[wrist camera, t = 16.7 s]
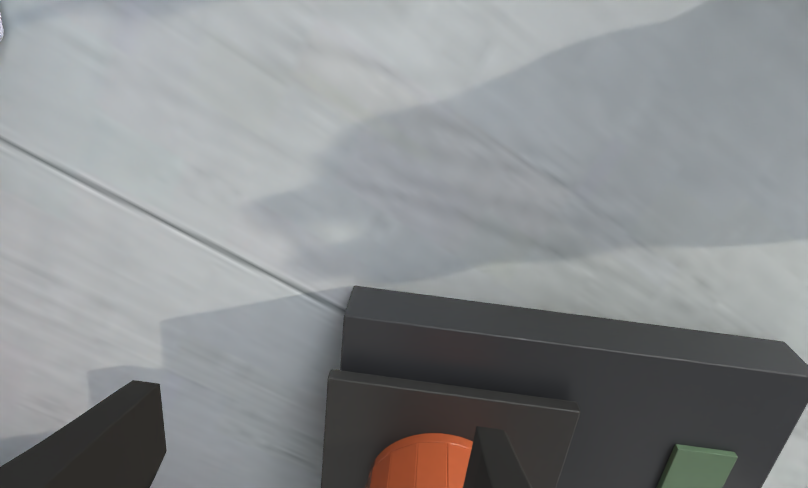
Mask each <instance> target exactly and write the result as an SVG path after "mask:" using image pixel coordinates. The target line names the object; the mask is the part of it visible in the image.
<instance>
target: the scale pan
mask: <svg viewBox="0 0 808 488" xmlns="http://www.w3.org/2000/svg"><path fill="white" fill-rule="evenodd" d="M579 415H580V409H579V406H578V403H577V402H573V401H566V400H558V399H551V398H543V397H536V396H528V395H521V394H513V393H505V392H498V391H490V390H483V389H475V388H468V387H460V386H453V385H445V384H438V383H430V382H423V381H415V380H408V379H400V378H393V377H385V376H378V375H370V374H363V373H355V372H348V371H340V370H333V369H332V370H331V371H330V373H329V377H328V384H327V400H326V416H325V432H324V448H323V464H322V480H321V488H365V487H366V484H367V481H368V475H369V471H370V468H371V466H372V464H373V462H374V460H375V459H376V457H377V456H378V455H379V454H380V453H381V452H382V451H383V450H384V449H385V448H386V447H388V446H389V445H391V444H392V443H394V442H396V441H398V440H400V439H403V438H405V437H409V436H412V435H417V434H423V433H444V434H451V435H455V436H460V437H463V438H466V439H468V440H471V441H473V440H474V435H475V431H476V426H480V427H487V428H495V429H502V430H504V431H505V432H506V433H507V435H508V437H509V439H510V442H511V444H512V446H513V448H514V451H515V453H516V455H517V457H518V459H519V461H520V464H521V466H522V468H523V470H524V472H525V474H526V476H527V478H528V480H529V482H530V484H531V486H532V488H556V487H557V483H558V480H559V477H560V474H561V471H562V468H563V465H564V462H565V459H566V456H567V452H568V449H569V446H570V443H571V440H572V437H573V434H574V431H575V428H576V425H577V421H578V418H579Z"/></svg>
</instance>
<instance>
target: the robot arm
mask: <svg viewBox="0 0 808 488" xmlns="http://www.w3.org/2000/svg"><path fill="white" fill-rule="evenodd" d="M3 36H4V30H3V25H2V19H1V14H0V41H1V40H2V38H3ZM165 453H166V441H165V431H164V422H163V412H162V402H161V393H160V384H157V383H149V382H142V381H134V380H133V381H131V382H130V383H128V384H127V385H125V386H124V387H122V388H121V389H119V390H118V391H116V392H115V393H113V394H112V395H110V396H109V397H107V398H106V399H104V400H103V401H101V402H100V403H98V404H97V405H96V406H94V407H93V408H91V409H90V410H88V411H87V412H85V413H84V414H82V415H81V416H79V417H78V418H76V419H75V420H73V421H72V422H70V423H69V424H67V425H66V426H64V427H63V428H61V429H60V430H58V431H57V432H55V433H54V434H52V435H51V436H49V437H48V438H46V439H45V440H43V441H42V442H40V443H39V444H37V445H35V446H34V447H32V448H31V449H29V450H27V451H26V452H24V453H22V454H21V455H19V456H18V457H16V458H14V459H13V460H11V461H9V462H8V463H6V464H4V465H3V466H1V467H0V488H150V486H151V484H152V482H153V480H154V478H155V476H156V473H157V471H158V469H159V467H160V464H161V462H162V460H163V458H164V456H165ZM463 488H532V486H531V484H530V482H529V480H528V478H527V476H526V474H525V472H524V470H523V468H522V466H521V464H520V461H519V459H518V457H517V455H516V453H515V451H514V448H513V446H512V444H511V442H510V439H509V437H508V435H507V433H506V432H505V431H504V430H502V429H495V428H487V427H480V426H476V431H475V435H474V440H473V444H472V449H471V453H470V458H469V462H468V467H467V471H466V476H465V480H464V484H463Z"/></svg>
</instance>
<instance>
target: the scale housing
mask: <svg viewBox="0 0 808 488" xmlns="http://www.w3.org/2000/svg"><path fill="white" fill-rule="evenodd" d="M340 371H348V372H355V373H363V374H370V375H378V376H385V377H393V378H400V379H408V380H415V381H423V382H430V383H438V384H445V385H453V386H460V387H468V388H475V389H483V390H490V391H498V392H505V393H513V394H521V395H528V396H536V397H543V398H551V399H558V400H566V401H573V402H577V403H578V406H579V409H580V415H579V418H578V421H577V425H576V428H575V431H574V434H573V437H572V440H571V443H570V446H569V449H568V452H567V456H566V459H565V462H564V465H563V468H562V471H561V474H560V477H559V480H558V483H557V487H556V488H761V487H762V485H763V484H764V482H765V480H766V478H767V476H768V474H769V473H770V471H771V469H772V467H773V465H774V464H775V462H776V460H777V458H778V456H779V454H780V453H781V451H782V449H783V447H784V445H785V444H786V442H787V440H788V438H789V436H790V434H791V433H792V431H793V429H794V427H795V425H796V424H797V422H798V420H799V418H800V416H801V414H802V413H803V411H804V409H805V407H806V405H807V404H808V365H807V364H806V363H805V362H804V361H803V360H802V359H801V358H800V357H799V356H798V355H797V354H796V353H795V352H794V351H793V350H792V349H791V348H790V347H789V346H788V345H787V344H786V343H785V342H781V341H773V340H766V339H758V338H750V337H743V336H735V335H727V334H720V333H712V332H704V331H697V330H689V329H681V328H674V327H666V326H659V325H651V324H643V323H636V322H628V321H620V320H613V319H605V318H597V317H590V316H582V315H574V314H567V313H559V312H551V311H544V310H536V309H528V308H521V307H513V306H505V305H498V304H490V303H482V302H475V301H467V300H459V299H452V298H444V297H436V296H429V295H421V294H413V293H406V292H398V291H390V290H383V289H375V288H367V287H360V286H354V287H353V290H352V293H351V296H350V299H349V302H348V305H347V308H346V311H345V315H344V323H343V337H342V350H341V364H340Z"/></svg>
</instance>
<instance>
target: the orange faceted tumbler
mask: <svg viewBox="0 0 808 488" xmlns="http://www.w3.org/2000/svg"><path fill="white" fill-rule="evenodd" d="M472 444H473V441H471V440H468V439H466V438H463V437H460V436H455V435H451V434H444V433H423V434H417V435H412V436H409V437H405V438H403V439H400V440H398V441H396V442H394V443H392V444H391V445H389V446H388V447H386V448H385V449H384V450H383V451H382V452H381V453H380V454H379V455H378V456H377V457H376V459H375V460H374V462H373V464H372V466H371V468H370V471H369V475H368V481H367V484H366V487H365V488H463V484H464V480H465V476H466V471H467V467H468V462H469V458H470V453H471V449H472Z"/></svg>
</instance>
